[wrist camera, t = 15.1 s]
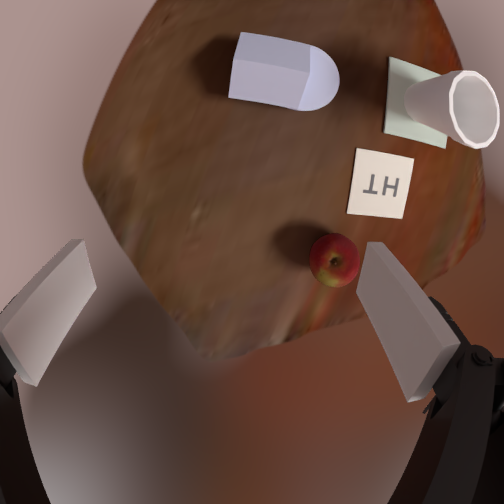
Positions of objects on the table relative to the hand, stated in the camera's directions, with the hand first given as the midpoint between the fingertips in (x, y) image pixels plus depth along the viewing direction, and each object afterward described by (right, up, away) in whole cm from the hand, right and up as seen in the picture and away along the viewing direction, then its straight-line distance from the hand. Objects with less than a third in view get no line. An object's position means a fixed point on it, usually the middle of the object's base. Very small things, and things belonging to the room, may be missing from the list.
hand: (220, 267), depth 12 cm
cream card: (+21, +11, +27) cm, 36 cm away
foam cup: (+26, +23, +20) cm, 40 cm away
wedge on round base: (+6, +24, +20) cm, 32 cm away
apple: (+13, +1, +32) cm, 35 cm away
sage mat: (+27, +23, +21) cm, 41 cm away
